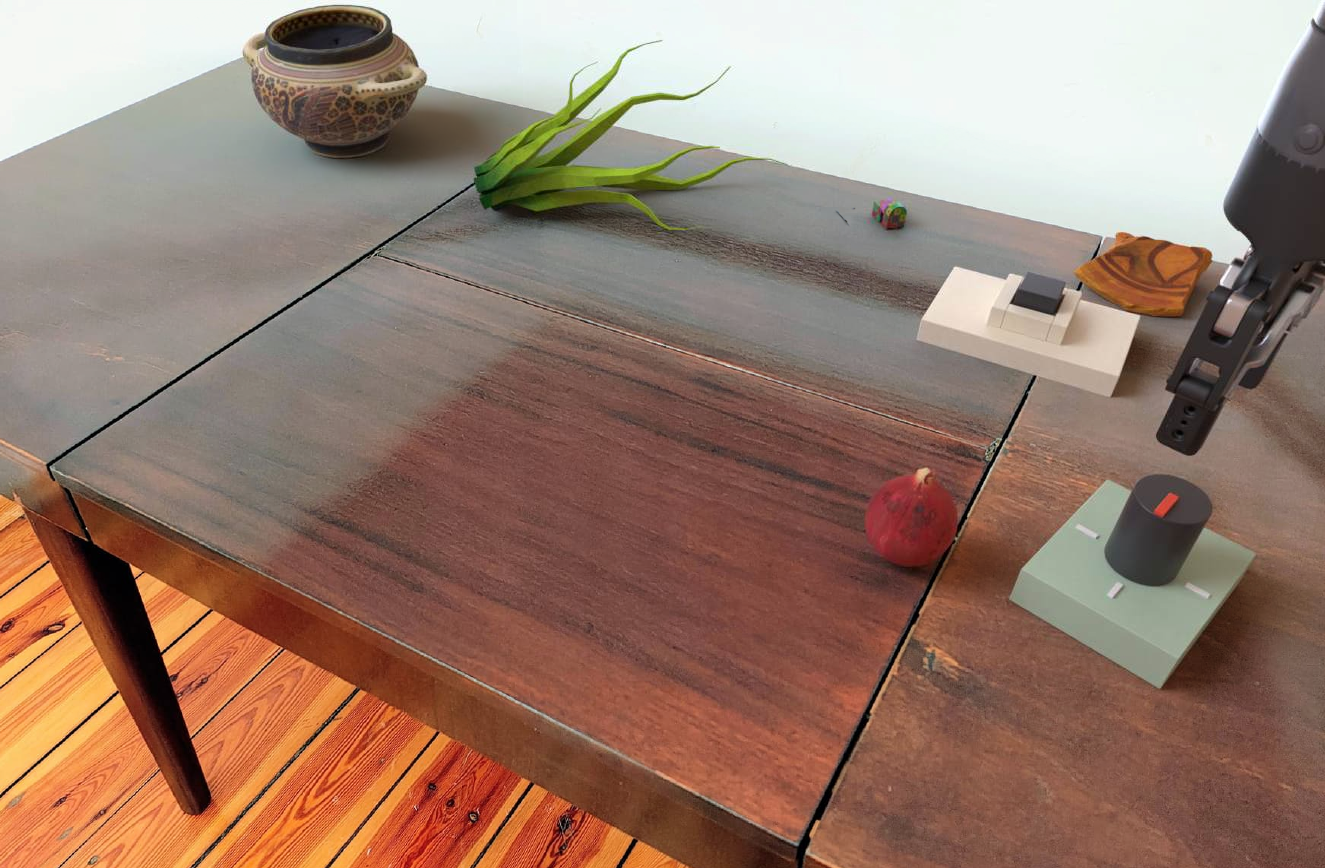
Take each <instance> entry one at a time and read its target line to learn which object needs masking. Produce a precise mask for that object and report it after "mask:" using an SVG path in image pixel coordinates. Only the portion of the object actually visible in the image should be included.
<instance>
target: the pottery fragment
mask: <svg viewBox="0 0 1325 868" xmlns="http://www.w3.org/2000/svg"><path fill="white" fill-rule="evenodd" d="M1114 237H1115V241H1114V243H1113V244H1112V245H1111V247H1109V248H1108V249H1107V250H1106V251H1105V252H1104V253H1102V254H1100V255H1098V256H1097V257H1094V258H1093V259H1091V260H1089V261H1087V262H1086V263H1084V264H1081V265H1080V266H1079V267H1077V268H1076V269H1075V270H1074V271H1073V274H1074V276H1075V277H1076V278H1077V279H1078V280H1079V281H1080V282H1081V283H1082V284H1084V285H1085V286H1086V287H1088V288H1089V289H1090V290H1092V291H1093V292H1094V293H1096V294H1098V295H1099V296H1100V297H1102V298H1104V299H1105V300H1107V301H1109V302H1111V304H1112V303H1113V304H1114V305H1115V306H1118V307H1119V308H1121V309H1123V311H1125V312H1129V313H1134V314H1139V315H1140V314H1141V315H1147V316H1150V317H1181V316H1182V315H1183V314H1184V313H1185V309H1186V305H1187V303H1188V301H1189V298H1190V296H1191V294H1192V293H1193V291H1194V289H1195V287H1196V285H1197V284H1198V281H1199V280H1200V277H1201V276H1202V275H1203V274H1204V273H1205V272H1206V271H1207V269H1208V268H1209V267H1210V265H1211V264H1212V263H1213V260H1212V259H1213V252H1212V251H1211V250H1209V249H1208V248H1206V247H1201V246H1193V245H1192V246H1187V245H1183V244H1178V243H1175V242H1171V241H1169V240H1165V239H1154V238H1152V237H1150V236H1146V235H1139V236H1134V234H1131V233H1128V232H1125V231H1117V232H1116V233H1115V236H1114Z"/></svg>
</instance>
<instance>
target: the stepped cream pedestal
mask: <svg viewBox="0 0 1325 868" xmlns="http://www.w3.org/2000/svg"><path fill="white" fill-rule="evenodd" d="M1024 277H1025V276H1022V275H1019V274H1016V273H1015V274H1014V273H1012V272H1011V273H1009V274H1008V276H1007V278H1006V279H1004V278H1001V277H997V276H993V275H989V274H985V273H983V272H982V273H981V272H978V271H975V270H971V269H967V268H963V267H959V266H954V267H953V269H952V270H951V272H950V273H949V275H948V277H947V278H946V280H945V281H944V283H943V284H942V286H941V287H940V289H939V291H938V293H937V294H936V296H935V297H934V299H933V301H932V302H931V304H930V305H929V306H928V308H927V310H926V311H925V313H924V315H923V316H922V318H921V320H920V324H919V328H918V331H917V335H916V341H919V342H922V343H925V344H927V345H932V346H935V347H938V348H942V349H945V350H948V351H952V352H955V353H959V354H962V355H966V356H969V357H971V358H976V359H979V360H982V361H986V362H990V363H993V364H995V365H999V366H1003V367H1006V368H1009V369H1012V370H1016V371H1020V372H1023V373H1026V374H1029V375H1032V376H1036V377H1039V378H1043V379H1047V380H1049V381H1053V382H1056V383H1060V384H1063V385H1067V386H1070V387H1072V388H1073V387H1074V388H1075V389H1079V390H1082V391H1087V392H1090V393H1094V394H1097V395H1100V396H1104V397H1107V398H1112V396H1113V393H1114V391H1115V388H1116V387H1117V384H1118V381H1119V379H1120V377H1121V374H1122V371H1123V368H1124V366H1125V362H1126V360H1127V357H1128V354H1129V351H1130V349H1131V346H1132V343H1133V339H1134V337H1135V335H1136V331H1137V329H1138V326H1139V324H1140V321H1141V317H1142V316H1141V315H1140V314H1137V313H1133V312H1130V311H1126V310H1121V309H1117V308H1113V307H1110V306H1105V305H1102V304H1098V303H1094V302H1091V301H1088V300H1083V299H1081V298H1082V296H1083V291H1080V290H1075V289H1073V288H1072V289H1071V288H1067V287H1064V290H1063V293H1062V295H1061V298H1060V301H1059V303H1058V305H1057V307H1056V309H1055V311H1054V314H1053V316H1052V315H1049V314H1045V313H1041V312H1038V311H1034V310H1030V309H1027V308H1023V307H1019V306H1016V305H1013V304H1014V300H1015V297H1016V294H1017V291H1018V288H1019V287H1020V285H1021V283H1022V281H1023V279H1024Z"/></svg>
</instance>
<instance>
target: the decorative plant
mask: <svg viewBox="0 0 1325 868" xmlns="http://www.w3.org/2000/svg"><path fill="white" fill-rule="evenodd" d="M659 42H663V39H660V40H655V41H649V42H645V43H642V44H639V45H637V46H634V47H631V48H628V49H626V51H624V52H623V53H621V55H619V57H618V58H617V61H616V62H615V64H614V65H613V66H612V68H611V69H610V70H609V71H607V72H606V73H605V74H604V75H602V77H600V78H599V79H598V80H596V81H595V82H594V83H593V84H591V85H590V86H589V87H587V88H586V89H585V90H584V91H582V92H581V93H580V94H579V95H577V96H576V97H575V98H574V99H573V83H574V80H575V78H576V76H577V75H579V74H580V73H581V72H582V71H584V70H585V69H586V68H587V67H591V66H593V65H596V64H598V61H596V62H593V63H591V64H589V65H586V66H584V67H583V68H581V69H580V70H578V72H576V73H574V74H573V76H572V78H571V80H570V82H569V90H568V91H569V92H568V100H567V103H566V105H565V106H563V107H562V108H561V109H560V110H559V111H557V112H556V113H555V114H553V116H551V117H548V118H544V119H542V120H539V121H537V122H535V123H533V124H531V125H530V126H528V127H527V128H526V129H524V130H523V131H521V132H518V133H516V134H515V135H513V136H511V137H510V138H508V139H507V140H505V141H504V142H503V144H502V145H501V146H500V147H499V149H498V150H497V151H495V152H494V153H492V155H490V156H489V157H488V158H487V159H486V160H485V161H483V162H482V163H480V164H478V165H476V166H474V167H473V169H474V174H475V177H473V178H472V179H473V183H474V186H475V189H476V193H477V194H479V198H478V200H479V202H480V204H481V207H483V209H484V210H487V209H491V210H492V211H495V210H499V209H503V208H506V207H509V206H512V205H516V206H518V207H522V208H525V209H528V210H530V211H531V210H532V211H533V212H534V211H535V212H540V211H544V210H549V209H556V208H563V207H568V206H576V205H582V204H588V203H590V204H591V203H610V204H611V203H614V204H616V203H619V204H621V203H623V204H624V203H626V204H628V205H630V206H632V207H634V208H636V209H638V210H640V211H642V212H644V213H646V214H647V216H649V217H650V218H651V219H652V220H653V221H654V222H655V223H656V224H657V225H658V226H659V227H662V228H664V229H667V230H668V231H689V230H694V229H698V228H702V227H706V224H703V225H699V226H695V227H689V228H682V227H669V226H668V225H667V224H664V223H663V222H662V221H661V220H659V218H658V217H657V216H656V215H655V213H654V212H653V211H652V210H651V209H650V207H648V206H647V205H645V204H644V203H643V202H642V201H640V200H639V199H638V198H636V197H634V196H633V195H632V194H631V193H625V192H619V191H609V190H601V189H586V190H585V189H584V190H583V189H582V188H591V187H598V188H609V189H610V188H611V189H623V190H635V191H667V190H668V191H671V190H673V191H675V190H677V191H678V190H680V191H681V190H685V189H687V188H690V187H693V186H696V185H698V184H701V183H704V182H706V181H708V180H712V179H713V178H715V177H716V176H717V175H719V174H720V173H722V172H723V171H725V170H726V169H728V168H729V167H731V166H733V165H735V164H738V163H743V162H745V161H772V162H776V163H777V164H780V165H785V166H788V165H789V164H788V163H787V162H786V163H785V162H782V161H779V160H777V159H773V158H769V157H752V156H751V157H750V156H747V157H740V158H735V159H731V160H728V161H726V162H724V163H722V164H721V165H719V166H717V167H715V168H713V169H711V170H709V171H707V172H704V173H700V174H697V175H694V176H691V177H687V178H685V179H682V180H678V179H676V178H675V179H674V178H670V177H666V176H663V175H658V174H657V173H659V172H661V171H663V170H665V169H666V168H667V167H669V166H670V165H672V164H673V163H674V162H675V161H676V160H677V159H679V158H680V157H682V156H684V155H687V154H688V153H690V152H692V151H700V150H706V149H721V147H720V146H715V145H705V146H703V145H700V146H699V145H698V146H692V147H689V148H686V149H683V150H681V151H678V152H675V153H674V154H673V155H671V156H669V157H667V158H666V159H663V160H661V161H660V162H657V163H652V164H648V165H642V166H638V167H635V168H614V167H602V166H590V165H577V164H575V165H574V164H572V165H568V164H570V163H571V162H573V161H574V160H576V159H577V158H578V157H579V156H580V155H581V154H582V153H584V152H585V151H586V150H588V148H589V147H591V146H592V145H593V144H594V143H595V142H596V141H598V139H600V138H601V137H602V136H603V135H604V134H605V133H607V131H609V130H610V129H611V128H612V127H613V126H614V125H615V124H616V123H617V122H618V121H619V120H621V118H622V117H623V116H624V115H625V114H626V113H627V112H629V110H630V109H632V107H633V106H636V105H637V106H638V105H641V104H646V103H650V102H651V103H652V102H656V101H685V100H688V99H691V98H695V97H697V96H699V95H701V94H702V93H703V92H705V91H706V90H708V89H709V88H710V87H712V86H713V85H715V84H716V83H718V81H719V80H721V78H722V77H723V76H724V75H725V74H726V73H727V71H729V69H730V68H731V66H730V65H729V66H728V67H727V68H726V69H725V71H724V72H723V73H722V74H721V75H720V76H719V77H718V78H717V79H716V81H713V82H712V83H710V84H709V85H707V86H705V87H703V88H702V89H700V90H699V91H697V92H695V93H690V94H685V95H680V94H673V93H665V92H655V93H648V94H639V95H634V96H631V97H629V98H627V99H626V100H624V101H622V102H621V103H619V104H617V105H615V106H613V107H612V108H610V109H608V110H607V111H605V112H603V113H601V114H600V115H598V116H596V115H597V114H598V113H599V112H600V111H601V109H602V107H600V108H599V109H598V110H597V111H596V112H595V113H594V114H593V115H592V116H591V117H589V118H586V119H583V120H580V121H575V122H573V123H571V122H572V121H573V120H574V119H575V118H577V117H578V116H579V115H580V114H581V112H583V111H584V110H585V109H586V108H587V107H588V106H589V105H590V104H591V103H592V102H593V101H594V100H595V99H596V98H597V97H598V96H599V95H600V94H601V93H602V92H604V90H605V89H606V88H607V87H608V86H609V85H610V83H611V82H612V81H613V79H614V78H615V77H616V76H617V75H618V73H619V70H620V67H621V64H622V62H623V59H624V58H625V57H626V56H627V55H628V54H629V53H631V52H632V51H635V50H637V49H639V48H642V47H643V46H645V45H650V44H655V43H659ZM595 116H596V117H595ZM592 119H593V120H592ZM590 120H591V121H590ZM588 121H590V122H589V123H588V124H587V125H585V126H584V127H583V128H582V129H581V130H579V131H578V132H577V133H575V135H573V136H572V137H571V138H570V139H569V140H567V141H566V142H565V143H563V144H561V145H559V146H557V147H556V148H554V149H551V150H550V151H549V152H547V153H545V154H541V155H539V154H540V153H541V151H542V150H543V149H544V148H545V147H546V146H548V144H550V142H551V141H552V140H553V139H554V138H555V137H556V136H557V135H558V134H560V133H562V132H565V131H566V130H570V129H571V128H574V127H576V126H579V125H582V124H583V123H585V122H588ZM568 189H582V190H568ZM564 190H565V191H564ZM567 190H568V191H567Z"/></svg>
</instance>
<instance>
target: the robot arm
mask: <svg viewBox="0 0 1325 868" xmlns="http://www.w3.org/2000/svg"><path fill="white" fill-rule="evenodd" d="M1297 43H1298V44H1297V45H1296V46H1295V48H1294V49H1293V51H1292V53H1291V55H1290V56H1289V58H1288V60H1287V61H1286V63H1285V65H1284V66H1283V68H1282V70H1281V73H1280V75H1279V77H1278V78H1277V81H1276V83H1275V85H1274V88H1273V89H1272V92H1271V94H1270V97H1269V99H1268V101H1267V103H1266V105H1265V107H1264V110H1263V112H1262V114H1261V117H1260V119H1259V120H1258V123H1257V125H1256V127H1255V130H1254V131H1253V134H1252V137H1251V139H1250V141H1249V143H1248V145H1247V148H1246V150H1245V152H1244V154H1243V157H1242V159H1241V161H1240V163H1239V166H1238V167H1237V169H1236V172H1235V174H1234V176H1233V178H1232V180H1231V183H1230V185H1229V188H1228V190H1227V192H1226V194H1225V197H1224V199H1223V203H1222V209H1223V213H1224V215H1225V218H1226V220H1227V222H1228V223H1229V224H1230V225H1231V226H1232V228H1233V229H1235V230H1236V231H1237V232H1240V233H1241V234H1242V235H1243V236H1244V237H1245V238H1246V239H1247V241H1249V243H1250V245H1249V247H1248V248H1247V250H1246V252H1245V254H1244V256H1243V258H1241V257H1238V256H1236V257H1234V259H1233V260H1232V261H1231V262H1230V264H1229V265H1228V267H1227V269H1226V270H1225V272H1224V273H1223V275H1222V276H1221V279H1220V281H1219V284H1218V285H1217V286H1215V288H1214V290H1211V291H1209V293H1208V295H1207V297H1206V301H1207V302H1206V303H1205V305H1204V307H1203V309H1202V311H1201V313H1200V316H1199V317H1198V319H1197V321H1196V324H1195V326H1194V328H1193V330H1192V331H1191V334H1190V336H1189V338H1188V340H1187V342H1186V344H1185V345H1184V348H1183V350H1182V352H1181V354H1180V357H1179V359H1178V360H1177V363H1176V365H1175V367H1174V369H1173V371H1172V373H1170V374H1169V375H1168V377H1167V379H1166V381H1165V383H1166V385H1165V388H1164V390H1165V391H1166V392H1168V393H1171V394H1173V395H1174V396H1173V398H1172V400H1171V402H1170V404H1169V406H1168V409H1167V410H1166V413H1165V415H1164V417H1163V419H1162V421H1161V423H1160V425H1159V427H1158V429H1157V431H1156V434H1155V439H1156V441H1157V442H1158V443H1159V444H1161V445H1163V446H1165V447H1167V448H1169V449H1171V450H1173V451H1175V452H1178V453H1180V454H1181V455H1184V456H1187V457H1192V456H1195V455H1196V454H1198V452H1199V451H1200V450H1201V449H1202V448H1203V447H1204V445H1205V443H1206V440H1207V438H1208V437H1209V435H1210V433H1211V431H1212V429H1213V427H1214V426H1215V424H1216V422H1217V420H1218V418H1219V416H1220V414H1221V412H1222V411H1223V408H1224V407H1225V404H1227V402H1230V401H1232V399H1233V398H1234V396H1235V394H1236V392H1235V390H1236V389H1237V387H1238V386H1239V387H1242V388H1244V389H1247V390H1253V389H1255V388H1257V387H1258V386H1259V385H1260V384H1261V382H1263V380H1264V378H1265V377H1266V374H1267V373H1268V371H1269V369H1270V367H1271V366H1272V364H1273V362H1274V359H1275V358H1276V357H1277V354H1278V353H1279V351H1280V349H1281V348H1282V345H1283V343H1284V342H1285V340H1286V338H1287V336H1288V333H1286V332H1289V333H1292V332H1293V331H1294V330H1295V328H1299V326H1300V325H1301V323H1302V322H1303V320H1306V319H1307V318H1308V316H1309V315H1310V314H1311V312H1312V310H1313V309H1314V308H1315V306H1316V305H1317V303H1318V302H1319V300H1320V298H1321V296H1322V294H1323V293H1324V291H1325V0H1320V2H1319V3H1318V6H1317V8H1316V11H1315V12H1314V15H1313V17H1312V19H1311V20H1310V22H1309V24H1308V26H1307V28H1306V30H1305V32H1304V33H1303V35H1302V36H1301V38H1300V40H1299V42H1297ZM1204 362H1205V363H1208V364H1211V365H1213V366H1216V367H1217V368H1218V375H1219V376H1217V375H1214V374H1212V373H1209V372H1207V371H1205V370H1202V369H1200V368H1201V366H1202V365H1203V364H1204Z"/></svg>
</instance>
